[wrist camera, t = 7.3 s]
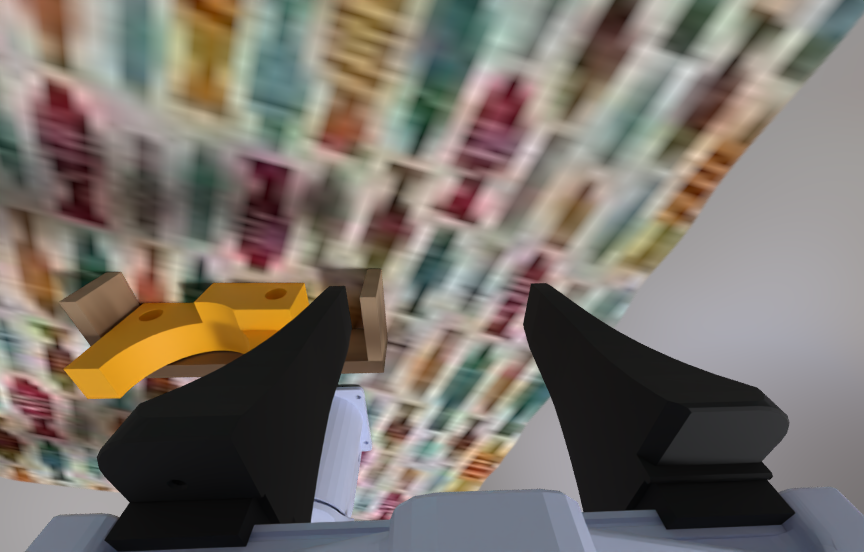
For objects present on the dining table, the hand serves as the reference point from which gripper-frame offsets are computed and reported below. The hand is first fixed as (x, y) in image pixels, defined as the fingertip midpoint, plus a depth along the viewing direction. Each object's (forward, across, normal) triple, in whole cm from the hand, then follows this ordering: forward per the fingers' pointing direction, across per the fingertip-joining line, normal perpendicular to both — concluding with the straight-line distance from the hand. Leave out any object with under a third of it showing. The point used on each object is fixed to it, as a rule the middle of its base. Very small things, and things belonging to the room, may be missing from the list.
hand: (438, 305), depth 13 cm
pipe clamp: (+10, +15, +7) cm, 20 cm away
